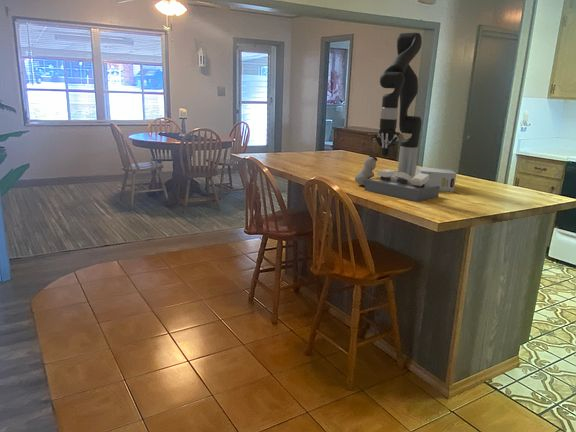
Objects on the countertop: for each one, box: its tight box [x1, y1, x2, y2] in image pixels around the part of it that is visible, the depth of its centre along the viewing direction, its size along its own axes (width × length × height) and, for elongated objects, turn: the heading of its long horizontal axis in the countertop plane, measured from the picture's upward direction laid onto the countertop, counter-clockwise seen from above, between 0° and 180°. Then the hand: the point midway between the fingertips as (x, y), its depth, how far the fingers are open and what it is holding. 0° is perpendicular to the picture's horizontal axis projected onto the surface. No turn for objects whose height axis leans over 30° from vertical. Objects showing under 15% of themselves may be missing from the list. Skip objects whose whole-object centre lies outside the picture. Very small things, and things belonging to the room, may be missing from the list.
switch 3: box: [410, 173, 429, 186], centre depth 203 cm, size 7×5×2 cm
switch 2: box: [393, 170, 412, 181], centre depth 209 cm, size 7×5×2 cm
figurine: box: [354, 154, 378, 187], centre depth 224 cm, size 9×10×15 cm
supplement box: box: [415, 166, 457, 192], centre depth 226 cm, size 17×13×9 cm
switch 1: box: [376, 168, 396, 177], centre depth 216 cm, size 7×5×2 cm
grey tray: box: [364, 176, 440, 203], centre depth 211 cm, size 18×28×6 cm, turn 43°
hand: (385, 156), depth 212 cm, fingers closed
